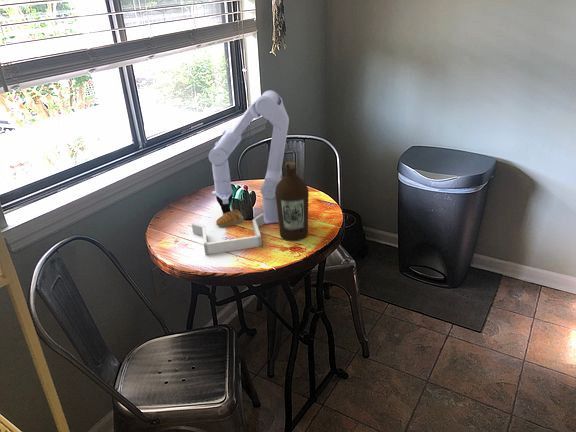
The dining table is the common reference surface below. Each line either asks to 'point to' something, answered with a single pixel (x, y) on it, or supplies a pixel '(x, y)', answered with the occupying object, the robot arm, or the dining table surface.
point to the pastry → (229, 218)
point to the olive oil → (292, 205)
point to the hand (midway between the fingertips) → (226, 214)
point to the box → (232, 243)
